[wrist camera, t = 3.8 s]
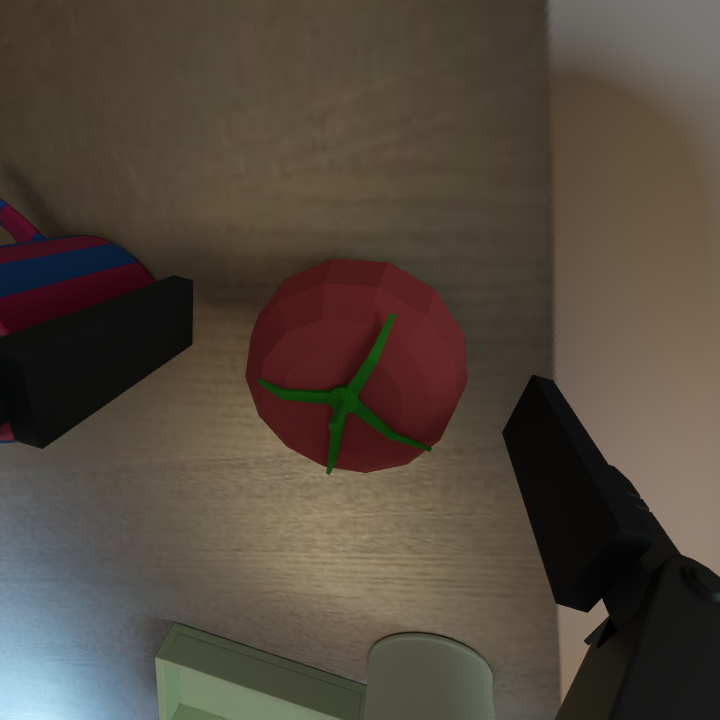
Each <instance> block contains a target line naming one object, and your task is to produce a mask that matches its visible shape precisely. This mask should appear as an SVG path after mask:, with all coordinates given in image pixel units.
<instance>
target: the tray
mask: <svg viewBox="0 0 720 720" xmlns="http://www.w3.org/2000/svg"><path fill="white" fill-rule="evenodd" d="M155 664H156V678H157V692H158V706H159V720H363V718H364V709H365V699H366V690H367V686H365V685H362V684H359V683H356V682H353V681H350V680H347V679H344V678H341V677H338V676H335V675H332V674H329V673H326V672H323V671H320V670H317V669H314V668H311V667H308V666H305V665H302V664H299V663H296V662H293V661H290V660H287V659H284V658H281V657H278V656H275V655H272V654H269V653H266V652H263V651H259V650H256V649H253V648H250V647H247V646H244V645H241V644H238V643H235V642H232V641H229V640H226V639H223V638H220V637H217V636H214V635H211V634H208V633H205V632H202V631H199V630H196V629H193V628H190V627H187V626H184V625H181V624H178V623H174V625H173V627H172V629H171V631H170V632H169V634H168V636H167V637H166V639H165V641H164V642H163V644H162V646H161V648H160V649H159V651H158V653H157V655H156V656H155Z"/></svg>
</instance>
